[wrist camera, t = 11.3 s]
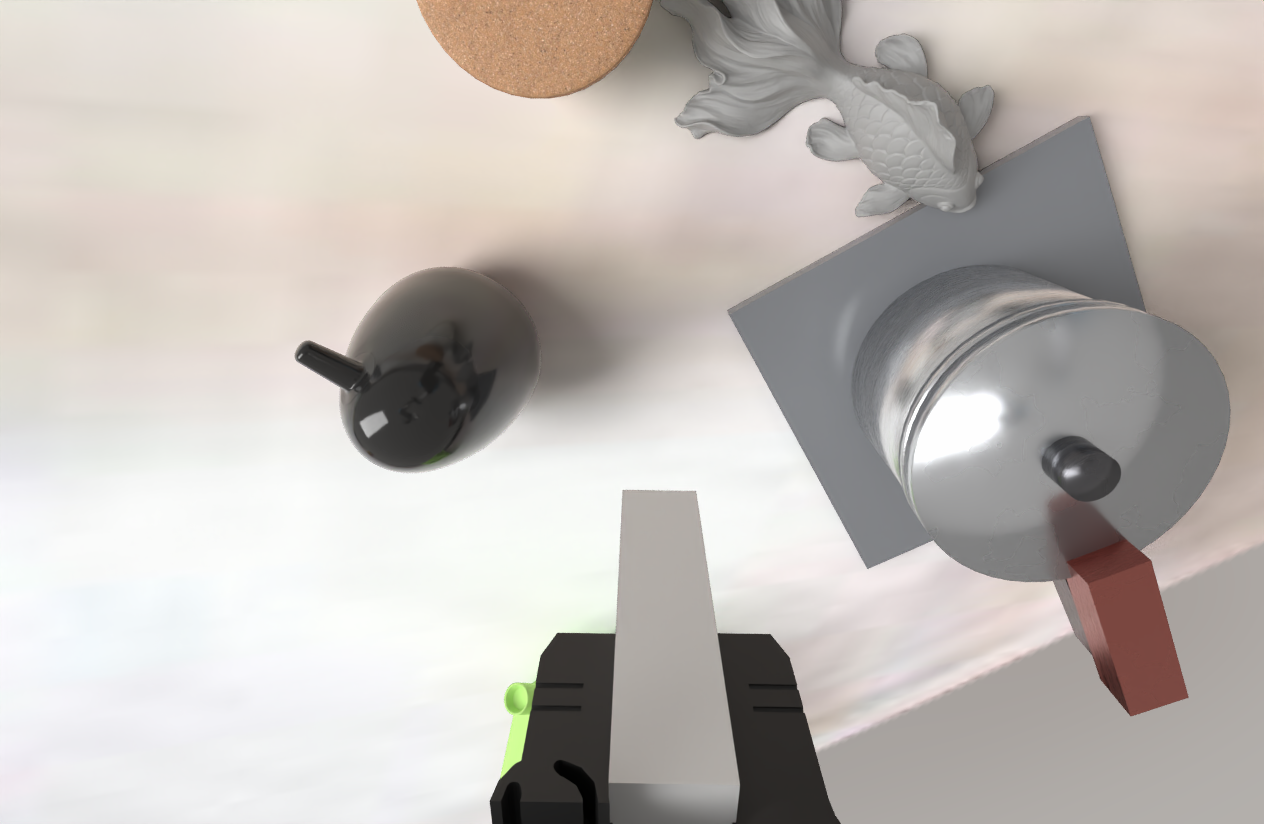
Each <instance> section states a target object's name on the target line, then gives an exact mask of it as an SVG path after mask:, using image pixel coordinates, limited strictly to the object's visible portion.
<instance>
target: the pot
mask: <svg viewBox="0 0 1264 824" xmlns="http://www.w3.org/2000/svg"><path fill="white" fill-rule="evenodd" d="M1083 303H1104V304H1114V305H1122V306H1126V307H1130V306H1127V305H1124V304H1121V303H1116V302H1111V301H1106V300H1098V299H1092V298H1089V297H1087V296H1084V295H1082V294H1079V293H1076V292H1074V291H1071V290H1069V289H1066V288H1064V287H1061V286H1059V285H1056V284H1054V283H1051V282H1049V281H1046V280H1044V279H1041V278H1039V277H1036V276H1034V275H1031V274H1029V273H1026V272H1023V271H1020V270H1017V269H1015V268H1010V267H1005V266H998V265H974V266H966V267H961V268H956V269H952V270H949V271H946V272H942V273H939V274H937V275H935V276H932V277H930V278H928V279H926V280H924V281H922V282H920V283H919V284H917V285H915V286H914V287H912V288H910V289H909V290H907V291H906V292H905V293H903V294H902V295H901V296H899V297H898V298H897V299H896V300H895V301H894V302H892V303H891V304H890V305H889V306H888V307H887V308H886V309H885V310H884V311H883V313H882V314H881V315H880V316H879V317H878V319H877V320H876V321H875V322H874V324H873V325H872V327H871V328H870V330H869V331H868V333H867V334H866V336H865V338H864V340H863V342H862V344H861V346H860V348H859V351H858V354H857V357H856V360H855V364H854V369H853V374H852V385H851V392H852V402H853V407H854V411H855V415H856V417H857V420H858V422H859V425H860V426H861V428H862V430H863V431H864V433H865V435H866V436H867V438H868V439H869V441H870V442H871V443H872V445H873V446H874V448H875V449H876V450H877V452H878V453H879V455H880V456H881V457H882V459H883V460H884V462H885V463H886V464H887V466H888V467H889V469H890V470H891V471H892V473H893V474H894V476H895V477H896V478H897V480H898V481H899V483H900V484H901V485H902V489H903V491H904V494H905V496H906V499H907V501H908V503H909V505H910V507H911V508H912V506H911V503H910V500H909V497H908V494H907V490H906V484H905V478H904V456H905V450H906V443H907V439H908V436H909V432H910V429H911V425H912V423H913V421H914V418H915V416H916V414H917V412H918V409H919V407H920V406H921V404H922V402H923V401H924V399H925V397H926V396H927V394H928V392H929V391H930V389H931V388H932V387H933V385H934V384H935V383H936V381H937V380H938V379H939V378H940V376H941V375H942V374H943V373H944V372H945V371H946V370H947V369H948V368H949V366H950V365H951V364H952V363H953V362H954V361H955V360H956V359H957V358H958V357H960V356H961V355H962V354H963V353H964V352H966V351H967V350H968V349H969V348H970V347H972V346H973V345H974V344H975V343H977V342H978V341H980V340H981V339H983V338H984V337H986V336H987V335H989V334H990V333H992V332H994V331H995V330H997V329H999V328H1001V327H1003V326H1005V325H1007V324H1009V323H1011V322H1013V321H1015V320H1018V319H1020V318H1023V317H1025V316H1028V315H1030V314H1033V313H1036V312H1039V311H1043V310H1047V309H1050V308H1054V307H1059V306H1066V305H1072V304H1083ZM1130 308H1133V307H1130ZM1134 309H1135V308H1134ZM912 510H913V508H912ZM913 512H914V510H913ZM914 513H915V512H914ZM915 515H916V513H915ZM916 516H917V515H916ZM917 518H918V517H917ZM1053 582H1054V585H1055V587H1056V590H1057V592H1058V595H1059V597H1060V599H1061V602H1062V604H1063V607H1064V609H1065V611H1066V614H1067V616H1068V619H1069V621H1070V623H1071V626H1072V628H1073V631H1074V633H1075V635H1076V637H1077V638H1078V639H1079V640H1080V641H1081V642H1082V644H1083V645H1084V646H1085V647H1086V648H1087V650H1088V651H1089V652H1090V653H1091V650H1090V647H1089V644H1088V641H1087V638H1086V635H1085V632H1084V629H1083V626H1082V623H1081V620H1080V617H1079V615H1078V612H1077V609H1076V606H1075V603H1074V600H1073V597H1072V594H1071V591H1070V588H1069V585H1068V582H1067V579H1063V580H1054V581H1053ZM1091 654H1092V653H1091Z"/></svg>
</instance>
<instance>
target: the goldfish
mask: <svg viewBox="0 0 1264 824" xmlns="http://www.w3.org/2000/svg"><path fill="white" fill-rule="evenodd" d="M722 1H723V2H724V4H725V6H726V7H727V9H728V10H729V12H730V14H731V16H732V18H728V17H726V16H724V15H723V14H722V13H721V12H720V11H719V10H718V9H717V8H716V7H715V6H713V5H712V4H711V3H710V2H709V1H707V0H660V5H661V6H662V7H663V8H664V9H666V10H667V11H669V12H670V13H671V14H672V15H675V16H681V17H683V18H685V19H686V20H687V21H688V22H689V24H690V26H691V28H692V31H693V36H692V43H693V48H694V52H695V56H696V58H697V59H698V60H699V62H700V63H701V64H702V65H703V66H705V67H707V68H709V69H712V70H713V73H712V74H711V75H709V87H710V89H707V90H704V91H700V92H698V93H697V94H696V95H694V96H693V97H692V98H691V100H690V101H689V102H688V103H687V104H686V107H685V109H684V111H683V112H682V113H680V115H679V116H678V117H677V118H675V123H676V124H677V125H678V126H679V127H681V128H687V129H689V130H690V131H691V133H692V135H693V137H694V138H695V139H699V138H701V137H702V136H703V135H704V134H706V133H710V132H718V133H721V134H724V135H728V136H734V137H742V136H750V135H754V134H757V133H760V132H762V131H763V130H765V129H766V128H768V127H769V126H771V125H772V124H773V123H775V122H776V121H777V120H779V119H780V118H781V117H782V116H784V115H785V114H786V113H787V112H788V111H790V110H791V109H792V108H794V107H795V106H797V105H798V104H800V103H802V102H805V101H807V100H810V99H815V98H827V99H830V100H831V101H832V102H833V103H835V104H836V107H837V108H838V110H839V111H840V113H841V115H842V117H843V120H844V122H845V125H846V127H842V126H839V125H837V124H836V123H833V122H832V121H830V120H828V119H827V118H822V119H821V120H820V121H819V122H817V123H814V124H812V125H811V126H810V127H809V129H808V132H807V138H806V139H807V140H806V146H807V147H809V148H810V150H811V153H812V154H813V155H815V156H816V157H818V158H821V159H825V160H829V161H844V160H850V159H856V158H861V160H862V161H863V162H864V164H865V165H866V166H867V168H868V169H869V170H870V171H871V172H872V173H873V174H874V175H875V176H877V177H878V178H879V179H880V180H882V181H883V182H884V183H883V184H880V185H875V186H873V187H871V188H869V189H868V191H867V192H866V193H865V194H864V196H863V198H862V200H861V201H860V202H859V204H858V206H857V207H856V209H855V214H856V216H857V217H866V216H872V215H881V214H886V213H890V212H892V211H894V210H896V209H897V208H898V207H900V206H901V205H902V204H903V203H905V202H906V201H907V200H908V199H909V198H912V199H914V200H916V201H918V202H920V203H923V204H925V205H927V206H930V207H933V208H937V209H940V210H942V211H944V212H953V213H963V212H966V211H968V210H970V209H972V208H973V207H974V206H975V204H976V189H977V188H978V187H979V185H981V184H982V182H983V180H984V178H983V176H982V175H981V174H980V173H979V172H978V160H977V156H976V153H975V151H974V146H973V143H972V140H973V139H974V138H975V137H976V135H977V134H978V133H979V132H980V131H981V129H982V128H983V127H984V125H985V124H986V122H987V120H988V118H989V115H990V113H991V110H992V107H993V101H994V91H993V89H992V88H991V86H989V85H986V86H984V87H976V88H974V89H972V90H970V91H968V92H966V93H964V94H963V95H962V97H961V98H960V100H959V103H958V105H957V104H956V102H955V101H954V100H953V98H951V96H950V95H949V93H948V92H947V91H945V90H944V89H943V87H942V86H941V85H939V84H938V83H937V82H934V81H932V80H930V79H928V78H927V62H926V58H925V54H924V51H923V49H922V46H921V44H920V43H919V41H918V40H917V39H915V38H914V37H912V36H910V35H907V34H900V35H893V36H889V37H887V38H886V39H883V40H881V41H880V42H879V44H878V45H877V46H876V50H875V55H876V57H877V60H878V62H879V63H881V64H882V65H885V66H887V67H888V68H889V69H886V68H875V67H865V66H857V65H854V64H851V63H849V62H847V61H846V60H845V59H844V58H843V56H842V54H841V52H840V30H841V19H842V1H841V0H722Z"/></svg>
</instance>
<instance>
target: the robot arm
mask: <svg viewBox="0 0 1264 824" xmlns="http://www.w3.org/2000/svg"><path fill="white" fill-rule="evenodd" d="M490 807H491V816H492V824H841V823H840V822H839V820H838V819H837V817H836V816H835V814H834V811H833V809H832V807H831V804H830V802H829V799H828V795H827V792H826V788H825V785H824V781H823V777H822V774H821V771H820V766H819V763H818V759H817V756H816V752H815V748H814V745H813V741H812V737H811V734H810V730H809V727H808V723H807V719H806V716H805V713H803V705H802V701H801V698H800V694H799V691H798V690H797V683H796V680H795V676H794V672H793V669H792V665H791V662H790V658H789V657H788V655H787V654H786V653H785V652H784V650H783V649H782V648H781V647H780V645H779V644H778V643H777V642H776V641H775V639H774V638H773V637H772V636H771V634H723V633H717V628H716V621H715V615H714V608H713V601H712V595H711V588H710V581H709V574H708V568H707V561H706V554H705V548H704V541H703V534H702V528H701V521H700V514H699V508H698V501H697V494H696V491H655V490H623V492H622V513H621V534H620V555H619V576H618V597H617V617H616V634H596V633H557V634H556V636H555V637H554V638H553V640H552V641H551V642H550V644H549V645H548V646H547V648H546V649H545V651H544V652H543V653H542V655H541V657H540V662H539V668H538V673H537V678H536V687H535V689H534V694H533V700H532V708H531V711H530V716H529V721H528V727H527V732H526V738H525V743H524V748H523V754H522V759H521V761H519V762H517V763H515V764H514V765H513V766H512V767H511V768H510V769H509V770H508V771H507V772H506V773H505V774H504V775H503V777H502V778H501V779H500V780H499V781H498V783H497V786H496V788H495V790H494V793H493V795H492V797H491V800H490Z"/></svg>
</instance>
